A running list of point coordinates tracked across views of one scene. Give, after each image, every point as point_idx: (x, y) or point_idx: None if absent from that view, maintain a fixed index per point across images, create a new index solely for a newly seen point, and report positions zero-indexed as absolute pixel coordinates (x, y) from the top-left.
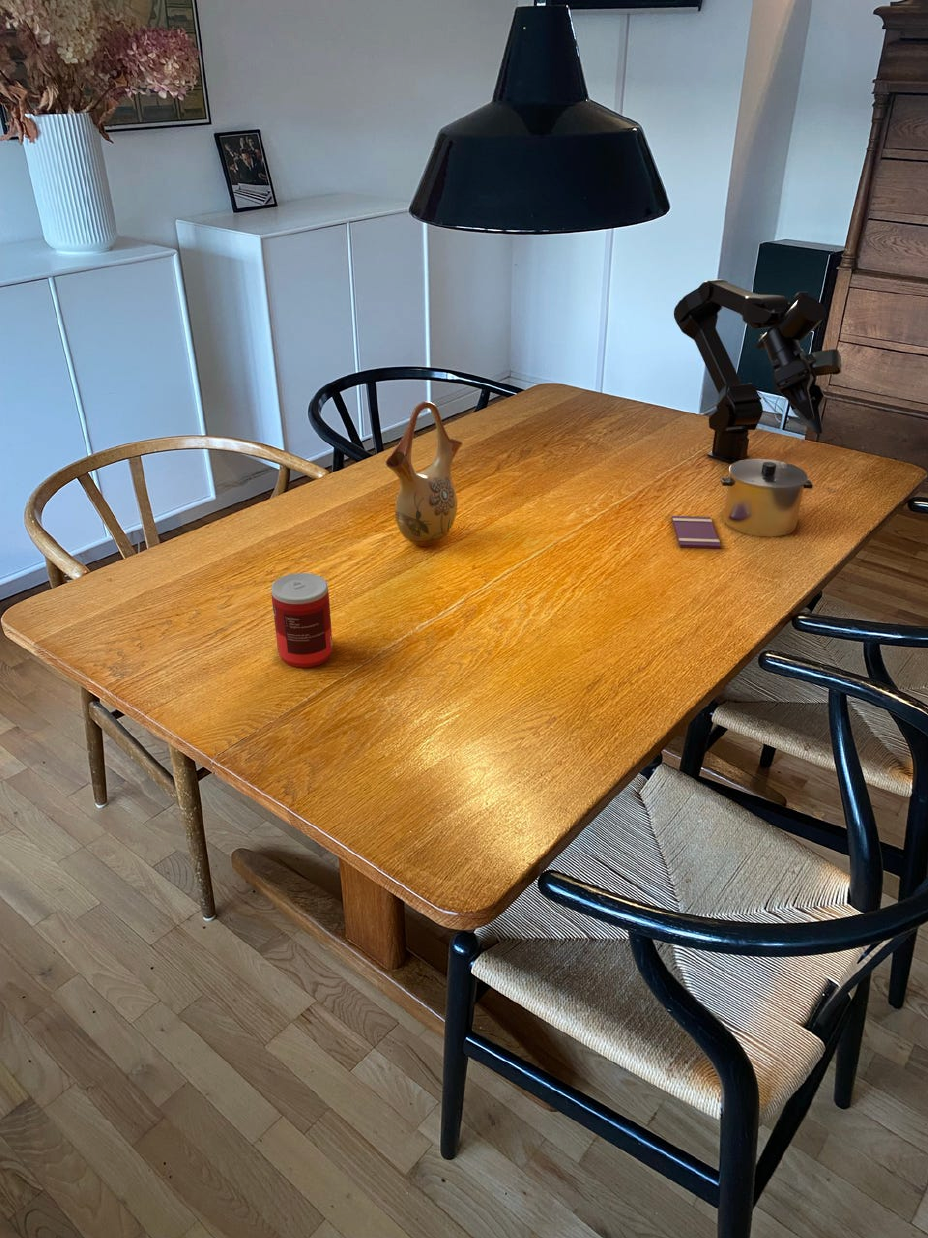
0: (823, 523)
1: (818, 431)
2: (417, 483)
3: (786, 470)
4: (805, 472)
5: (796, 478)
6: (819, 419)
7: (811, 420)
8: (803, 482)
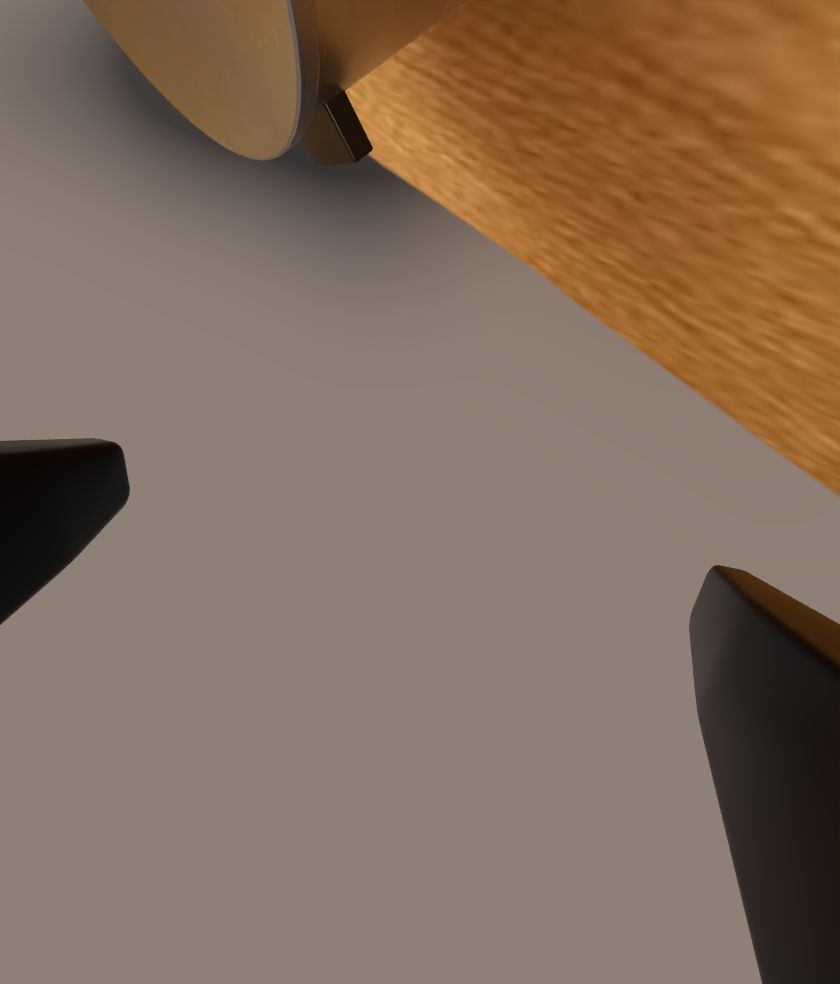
0: (568, 140)
1: (703, 604)
2: None
3: (199, 9)
4: (273, 156)
5: (185, 80)
6: (720, 801)
7: (789, 764)
8: (187, 117)
